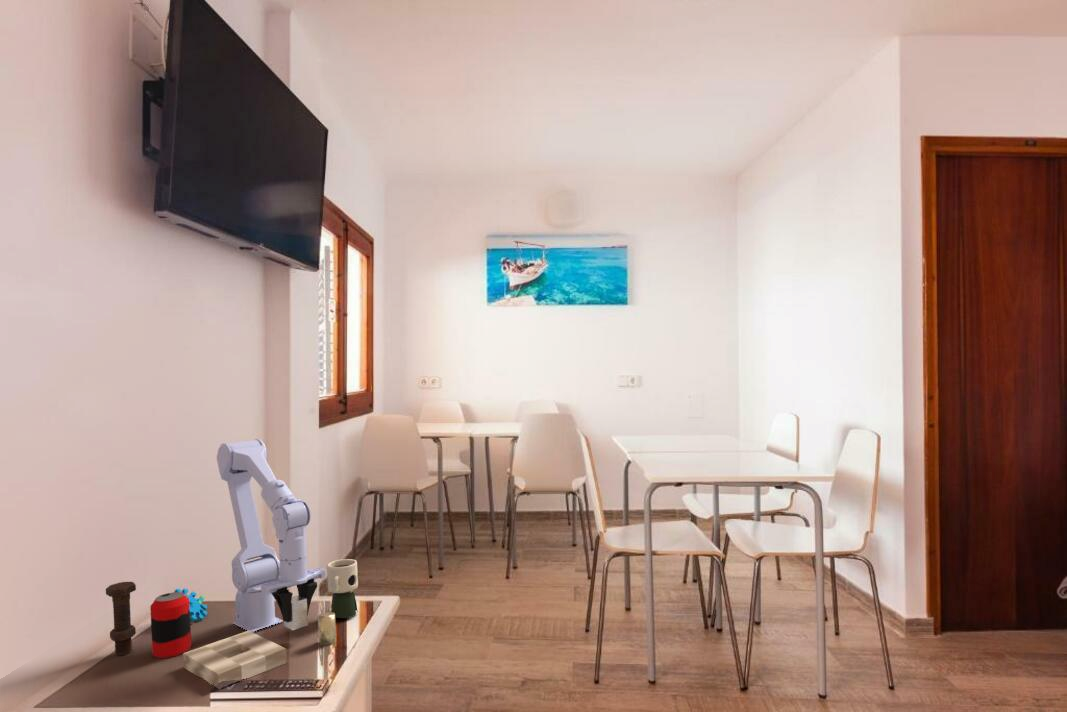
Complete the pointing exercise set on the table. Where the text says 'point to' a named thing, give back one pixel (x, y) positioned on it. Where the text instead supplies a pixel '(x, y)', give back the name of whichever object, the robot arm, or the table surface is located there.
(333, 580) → the character mug
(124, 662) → the table surface
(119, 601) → the bolt
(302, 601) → the square bit
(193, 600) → the gear
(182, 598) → the soda can
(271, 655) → the socket plate
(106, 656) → the table surface
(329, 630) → the round bit
